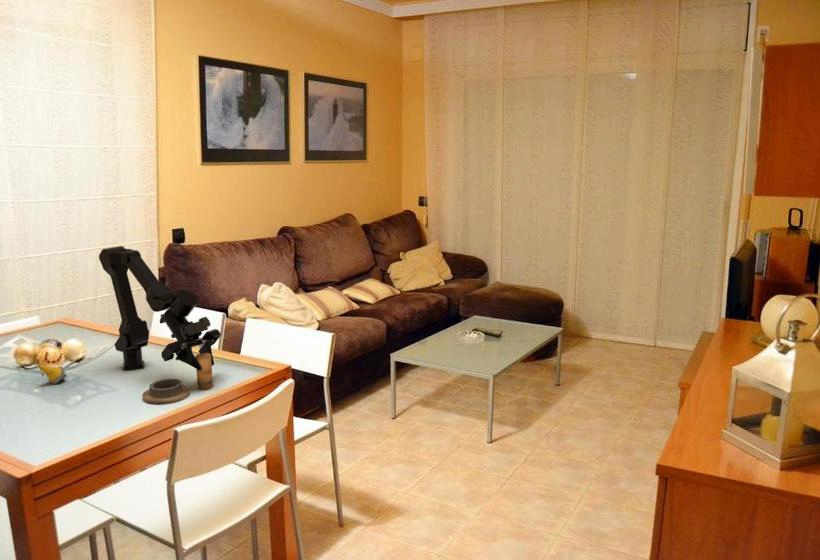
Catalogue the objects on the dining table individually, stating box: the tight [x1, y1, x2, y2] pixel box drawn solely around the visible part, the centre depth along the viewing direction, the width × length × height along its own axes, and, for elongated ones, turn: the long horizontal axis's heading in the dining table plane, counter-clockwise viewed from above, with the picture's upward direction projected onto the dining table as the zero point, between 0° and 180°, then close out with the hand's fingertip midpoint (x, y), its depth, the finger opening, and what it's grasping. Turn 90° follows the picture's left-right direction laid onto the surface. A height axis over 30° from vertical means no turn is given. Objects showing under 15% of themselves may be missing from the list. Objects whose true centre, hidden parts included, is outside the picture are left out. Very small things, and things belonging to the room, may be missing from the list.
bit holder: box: [141, 378, 191, 405], centre depth 197 cm, size 13×13×4 cm
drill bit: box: [37, 364, 68, 385], centre depth 206 cm, size 5×5×10 cm
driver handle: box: [195, 353, 214, 391], centre depth 202 cm, size 4×4×10 cm
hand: (207, 367), depth 201 cm, fingers closed on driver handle, 4 cm apart
